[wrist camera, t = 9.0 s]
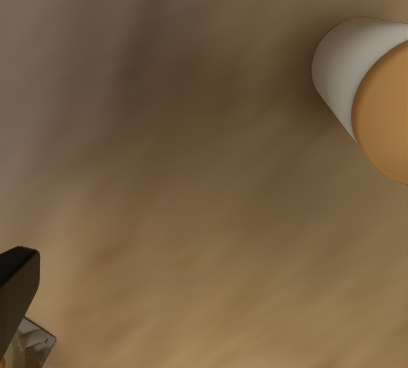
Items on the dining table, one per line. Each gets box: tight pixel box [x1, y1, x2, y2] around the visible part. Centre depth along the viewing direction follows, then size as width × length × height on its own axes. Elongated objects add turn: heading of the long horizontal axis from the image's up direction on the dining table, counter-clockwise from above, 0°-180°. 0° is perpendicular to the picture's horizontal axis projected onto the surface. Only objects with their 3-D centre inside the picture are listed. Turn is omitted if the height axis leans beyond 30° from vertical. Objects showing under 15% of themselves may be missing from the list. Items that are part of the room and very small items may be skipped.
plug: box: [311, 17, 408, 185], centre depth 14 cm, size 4×4×8 cm
